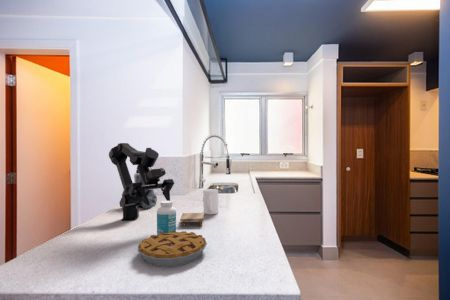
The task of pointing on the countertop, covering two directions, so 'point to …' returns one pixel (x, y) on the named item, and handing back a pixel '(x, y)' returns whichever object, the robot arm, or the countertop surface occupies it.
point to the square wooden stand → (192, 218)
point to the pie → (172, 248)
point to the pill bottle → (166, 217)
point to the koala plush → (149, 194)
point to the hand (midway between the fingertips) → (159, 203)
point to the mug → (210, 201)
